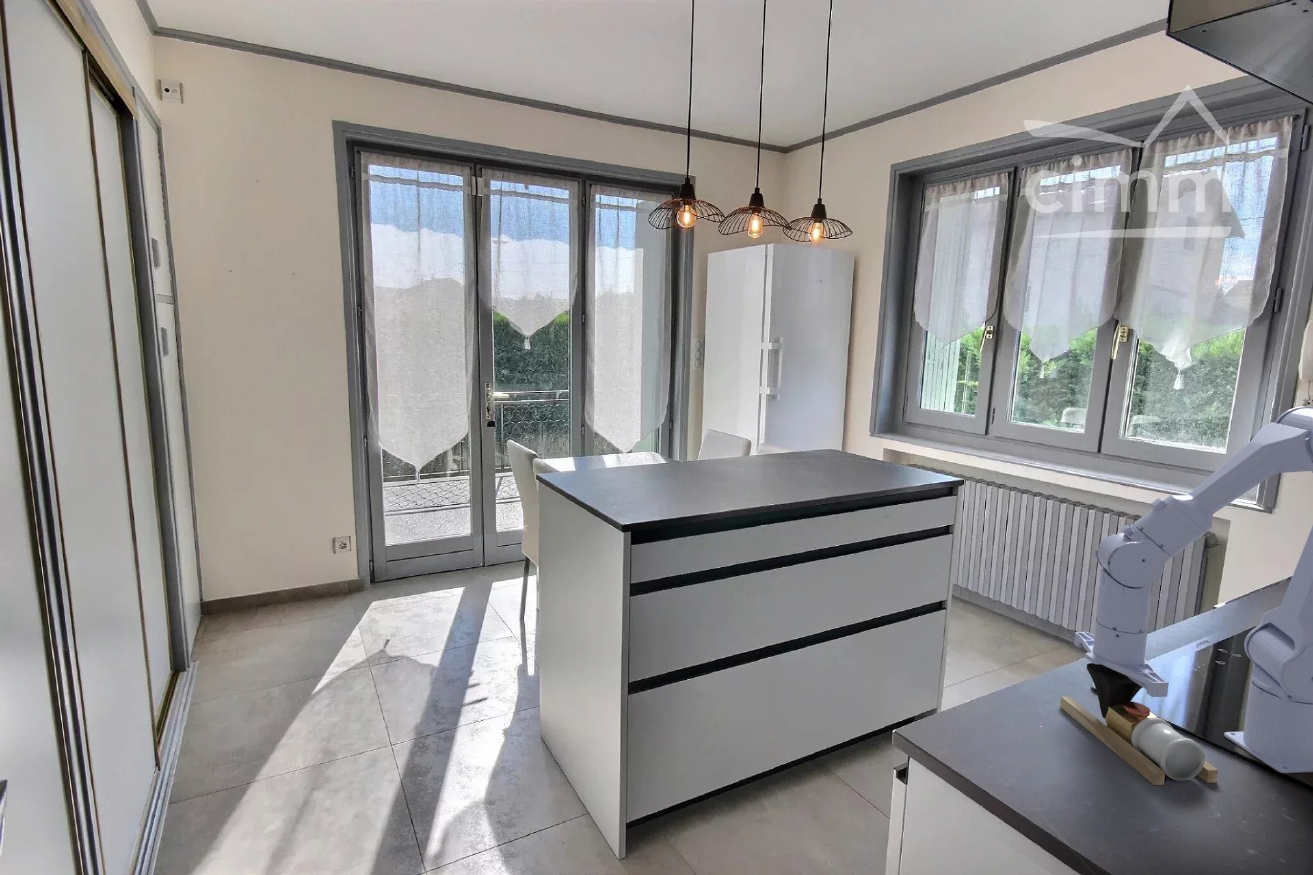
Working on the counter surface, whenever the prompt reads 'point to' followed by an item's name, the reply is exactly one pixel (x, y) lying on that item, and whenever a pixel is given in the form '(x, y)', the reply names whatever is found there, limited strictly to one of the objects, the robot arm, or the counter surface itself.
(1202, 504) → the robot arm
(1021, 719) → the counter surface
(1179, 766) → the coupling
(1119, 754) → the guide rails
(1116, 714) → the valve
